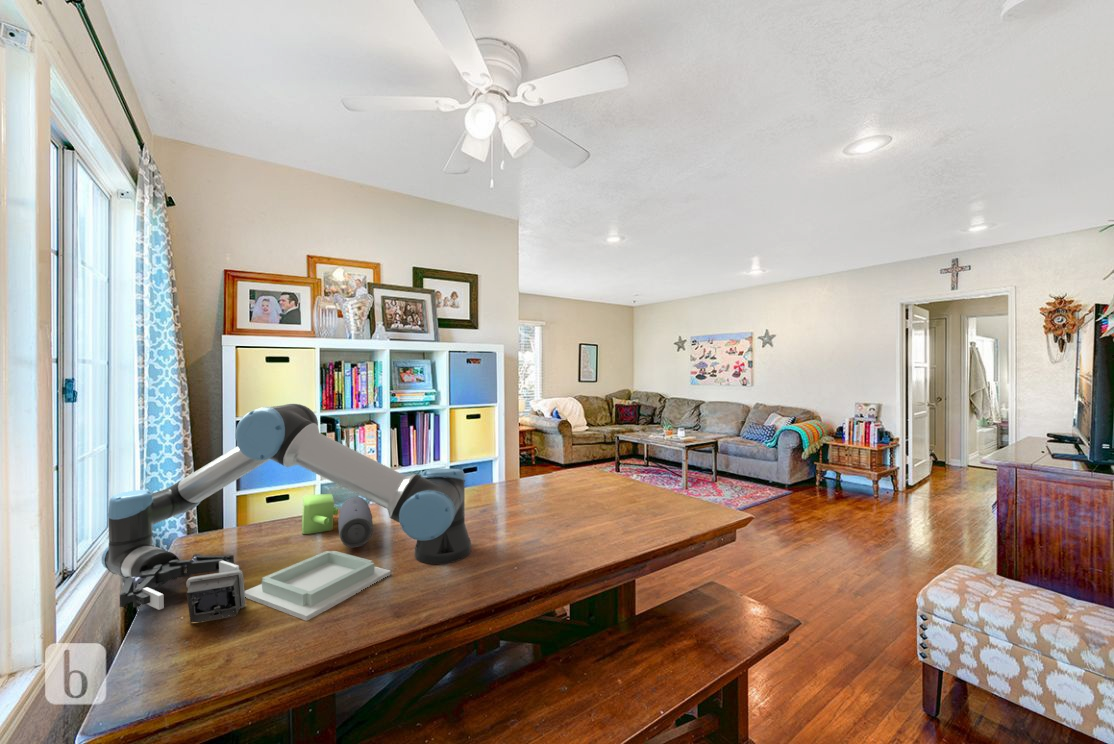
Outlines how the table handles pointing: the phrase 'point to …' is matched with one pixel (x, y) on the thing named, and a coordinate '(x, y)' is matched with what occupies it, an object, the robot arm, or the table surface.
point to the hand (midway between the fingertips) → (202, 586)
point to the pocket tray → (316, 584)
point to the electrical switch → (215, 595)
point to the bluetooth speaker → (355, 522)
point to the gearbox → (318, 513)
